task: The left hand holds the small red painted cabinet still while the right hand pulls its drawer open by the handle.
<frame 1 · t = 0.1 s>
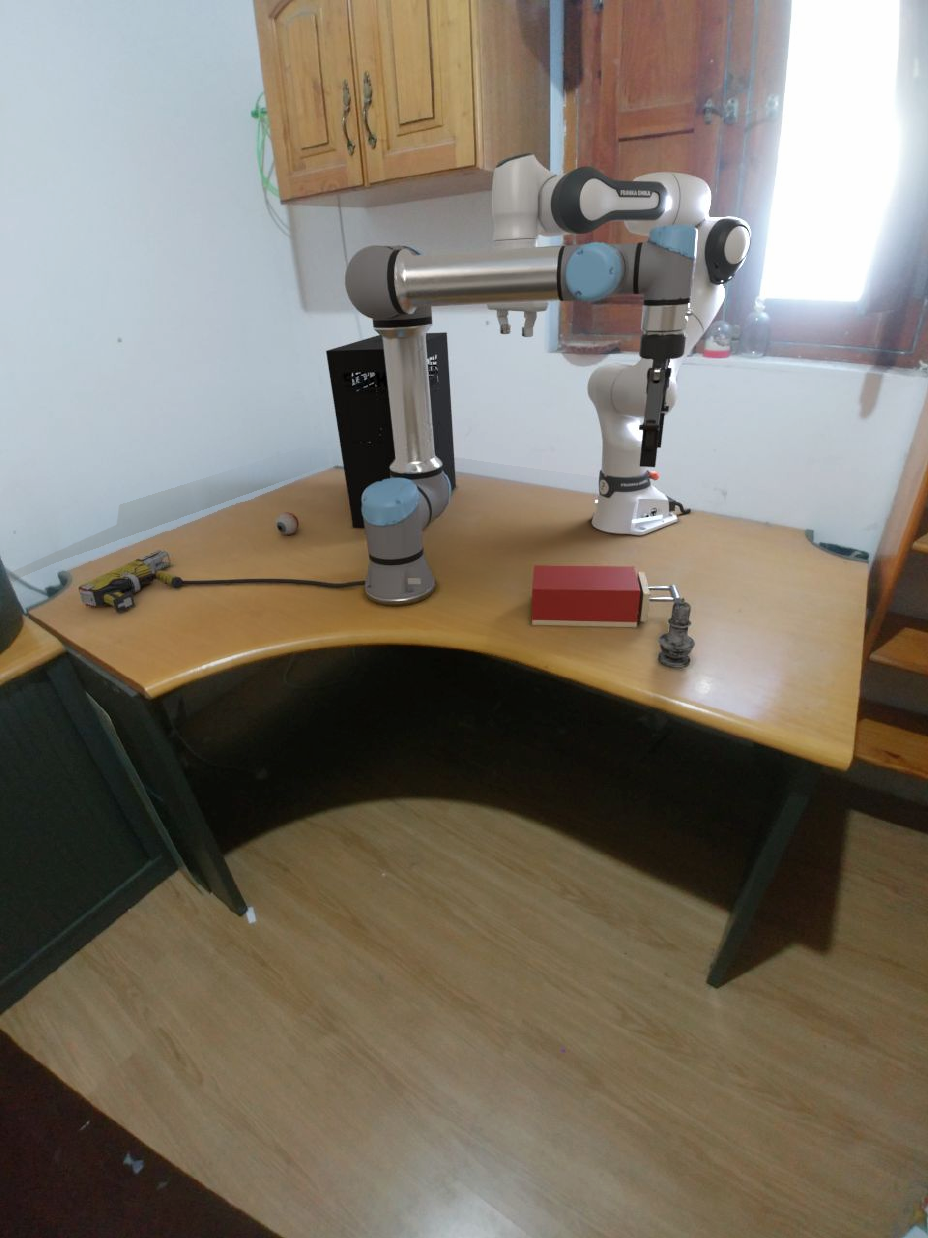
left hand: (650, 456, 114), 28 cm above the table, tool pointing down, fingers open, 13 cm apart
right hand: (516, 335, 125), 48 cm above the table, tool pointing down, fingers open, 8 cm apart
cardboard box: (408, 505, 181), on the table
cabinet: (582, 612, 120), on the table
toy gun: (148, 589, 140), on the table
drawer: (612, 595, 117), point 4 cm above the table, slide at 0.7 cm
eyeball: (289, 534, 165), on the table
chess piece: (673, 659, 104), on the table
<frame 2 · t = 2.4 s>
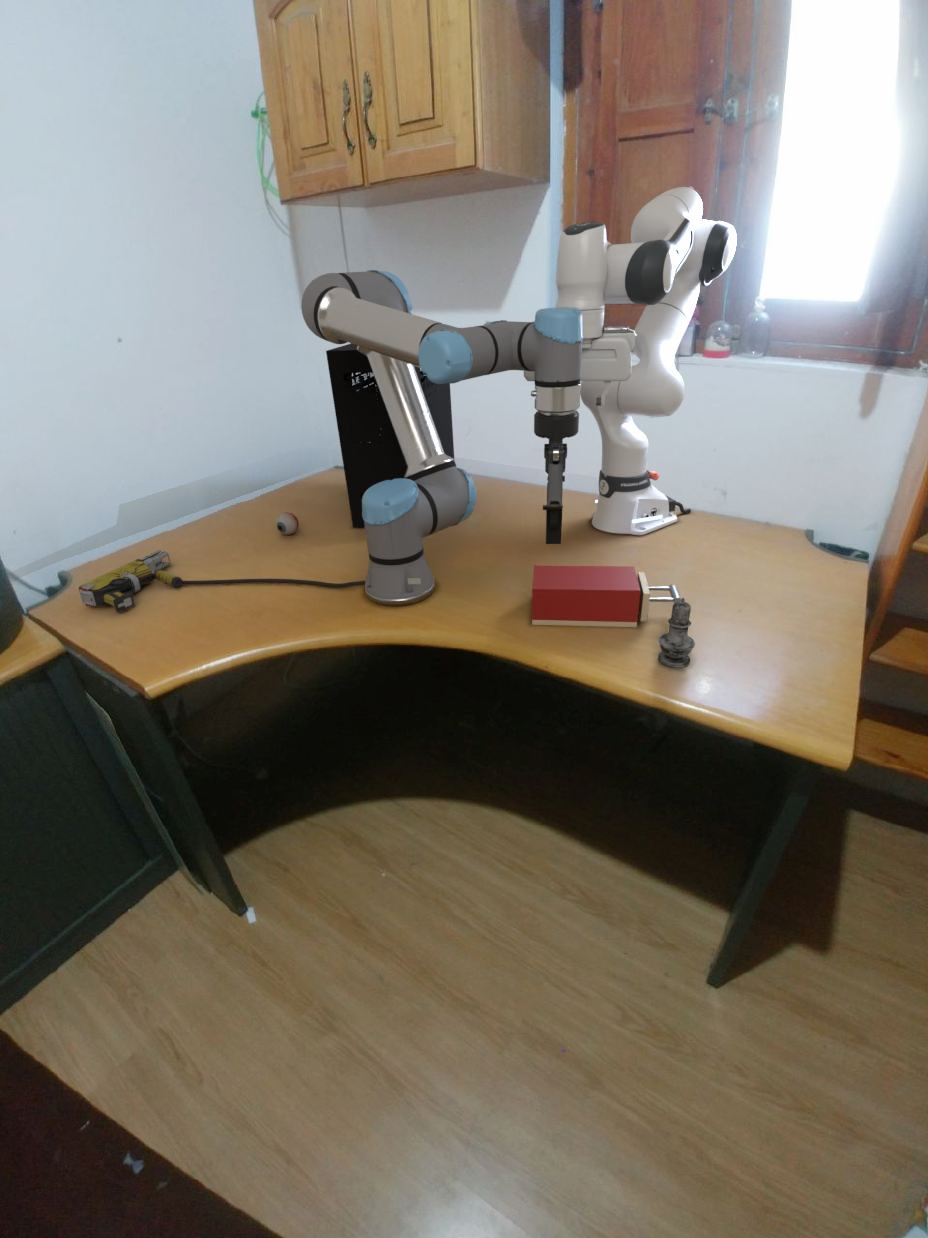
left hand: (553, 529, 112), 18 cm above the table, tool pointing down, fingers open, 13 cm apart
right hand: (575, 405, 118), 36 cm above the table, tool pointing down, fingers open, 8 cm apart
nothing on the table moved.
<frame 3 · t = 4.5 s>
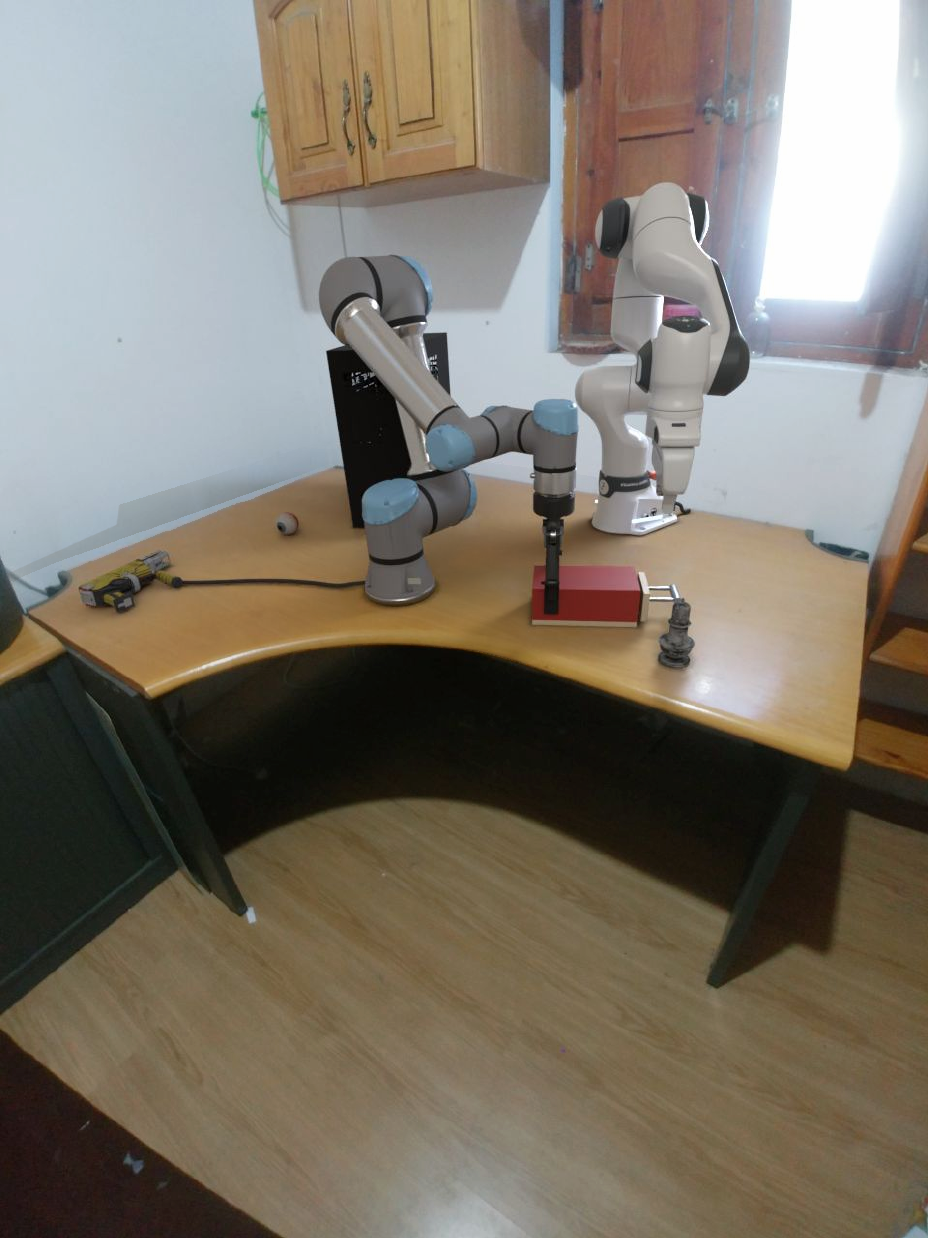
left hand: (551, 599, 119), 3 cm above the table, tool pointing down, fingers closed on cabinet, 10 cm apart
right hand: (663, 503, 108), 22 cm above the table, tool pointing down, fingers open, 8 cm apart
cabinet: (582, 612, 120), on the table, touching left hand
everything else where it was.
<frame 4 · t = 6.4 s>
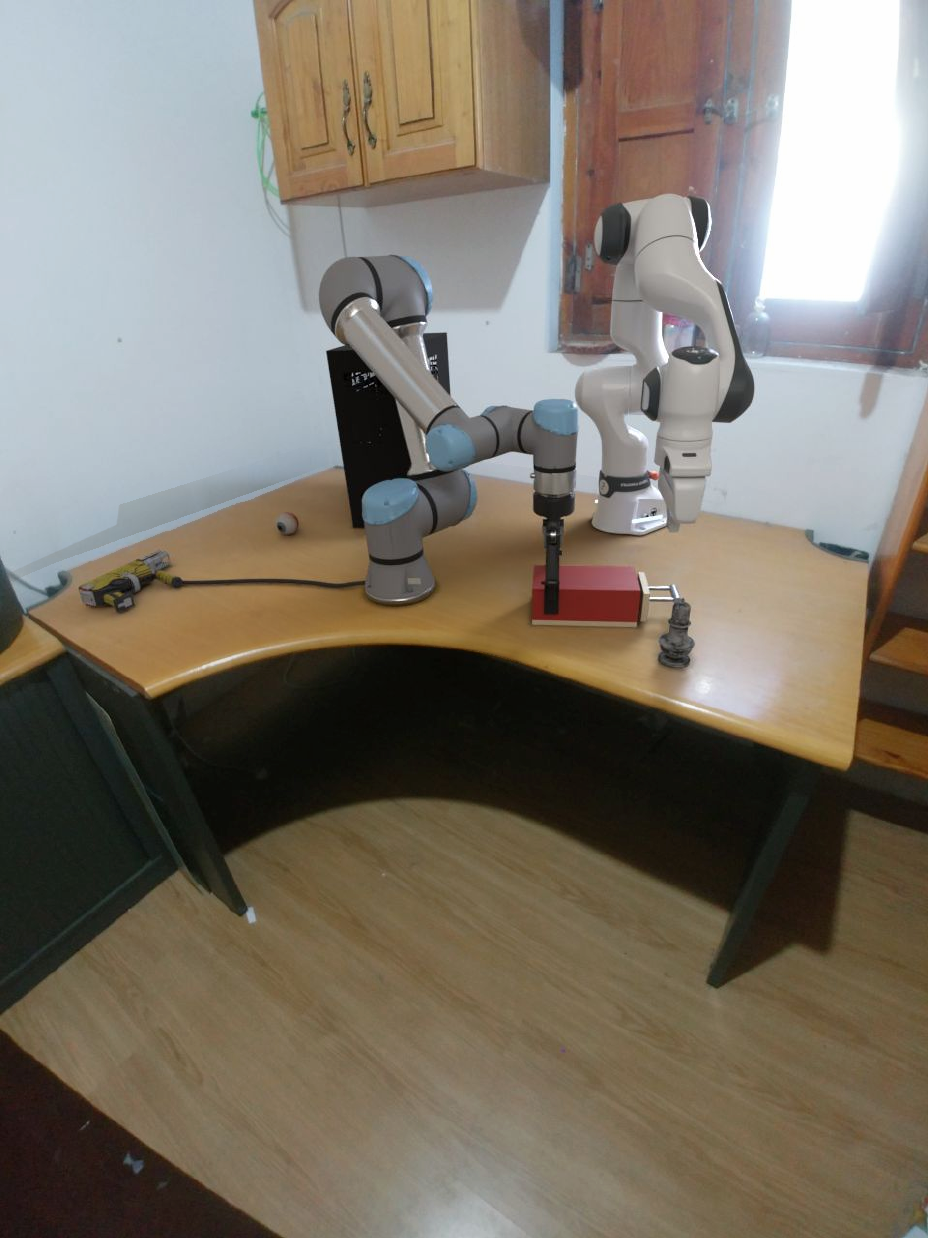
left hand: (551, 599, 119), 3 cm above the table, tool pointing down, fingers closed on cabinet, 10 cm apart
right hand: (672, 529, 109), 18 cm above the table, tool pointing down, fingers closed
cabinet: (582, 612, 120), on the table, touching left hand
everything else where it was.
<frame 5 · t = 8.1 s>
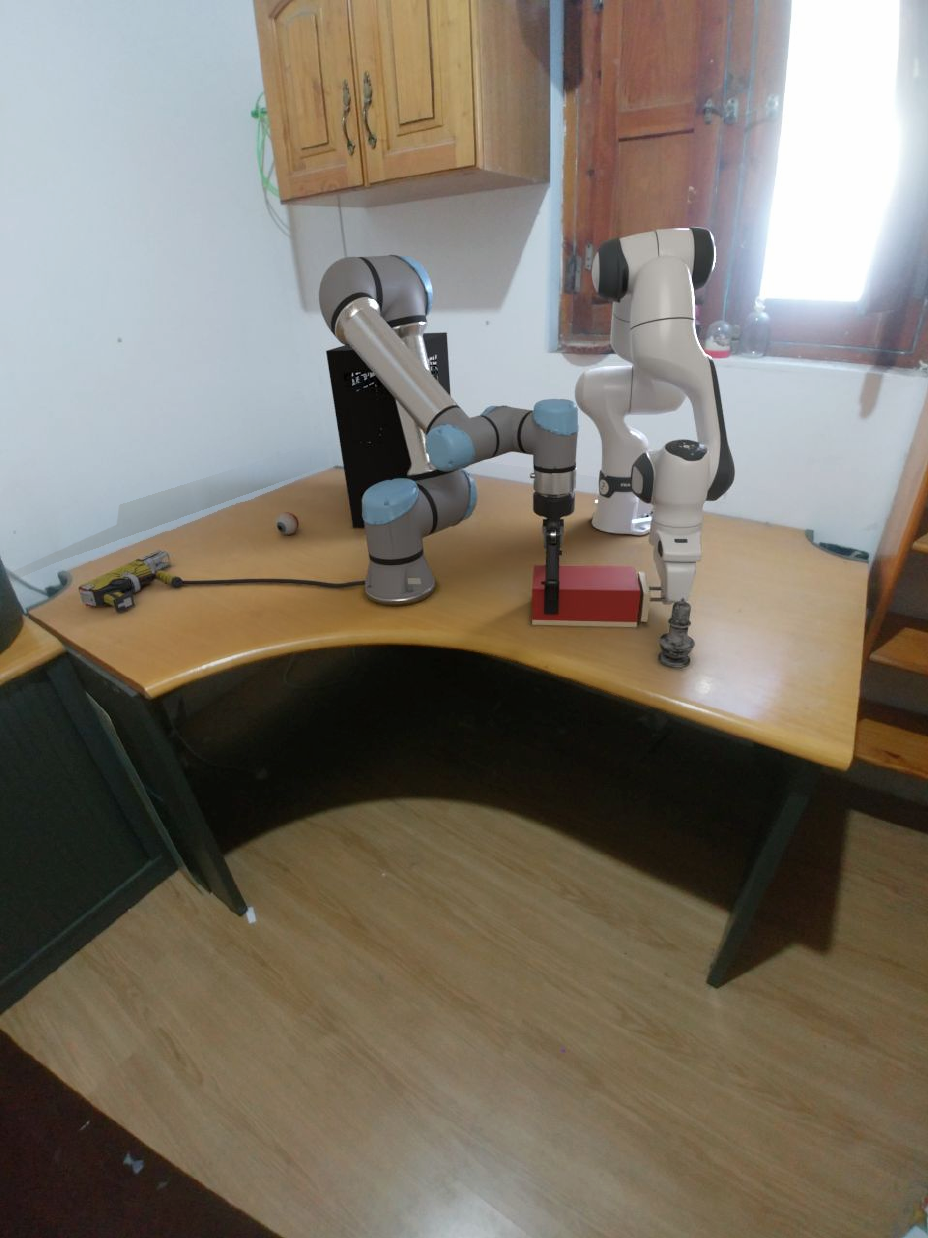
left hand: (551, 599, 119), 3 cm above the table, tool pointing down, fingers closed on cabinet, 10 cm apart
right hand: (665, 600, 116), 3 cm above the table, tool pointing down, fingers closed, pressing on drawer
cabinet: (582, 612, 120), on the table, touching left hand
drawer: (612, 595, 117), point 4 cm above the table, slide at 0.8 cm, touching right hand
everything else where it was.
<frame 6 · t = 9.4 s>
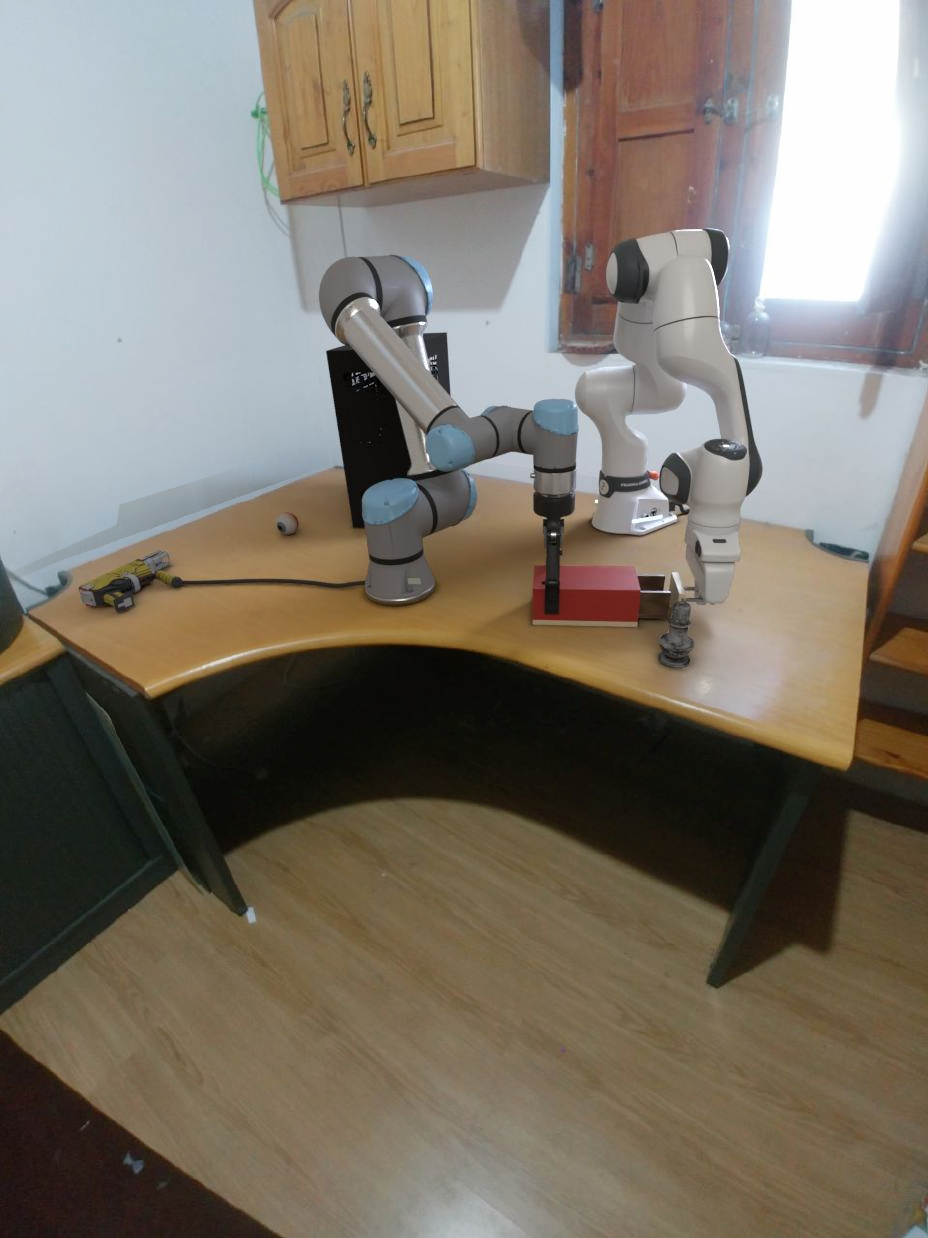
left hand: (551, 599, 119), 3 cm above the table, tool pointing down, fingers closed on cabinet, 10 cm apart
right hand: (699, 601, 115), 3 cm above the table, tool pointing down, fingers closed, pressing on drawer
cabinet: (583, 612, 120), on the table, touching left hand
drawer: (646, 596, 116), point 4 cm above the table, slide at 7.0 cm, touching right hand
everything else where it was.
when the left hand's fingers open (3 cm above the table, at t = 11.3 s): cabinet stays where it is, on the table.
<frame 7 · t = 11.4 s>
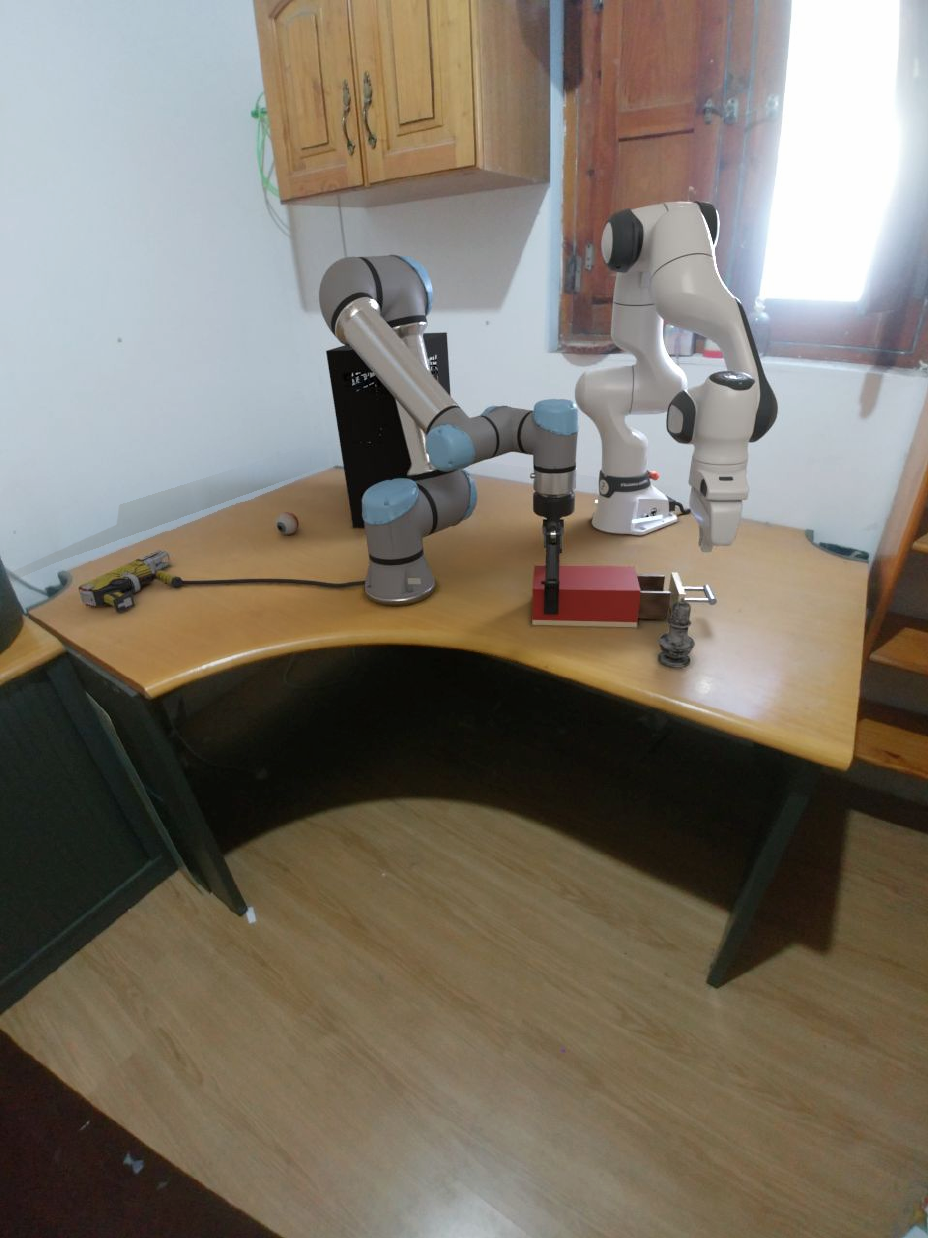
left hand: (551, 598, 119), 3 cm above the table, tool pointing down, fingers open, 11 cm apart
right hand: (704, 549, 110), 14 cm above the table, tool pointing down, fingers closed
cabinet: (582, 612, 120), on the table
drawer: (645, 596, 116), point 4 cm above the table, slide at 7.0 cm
everything else where it was.
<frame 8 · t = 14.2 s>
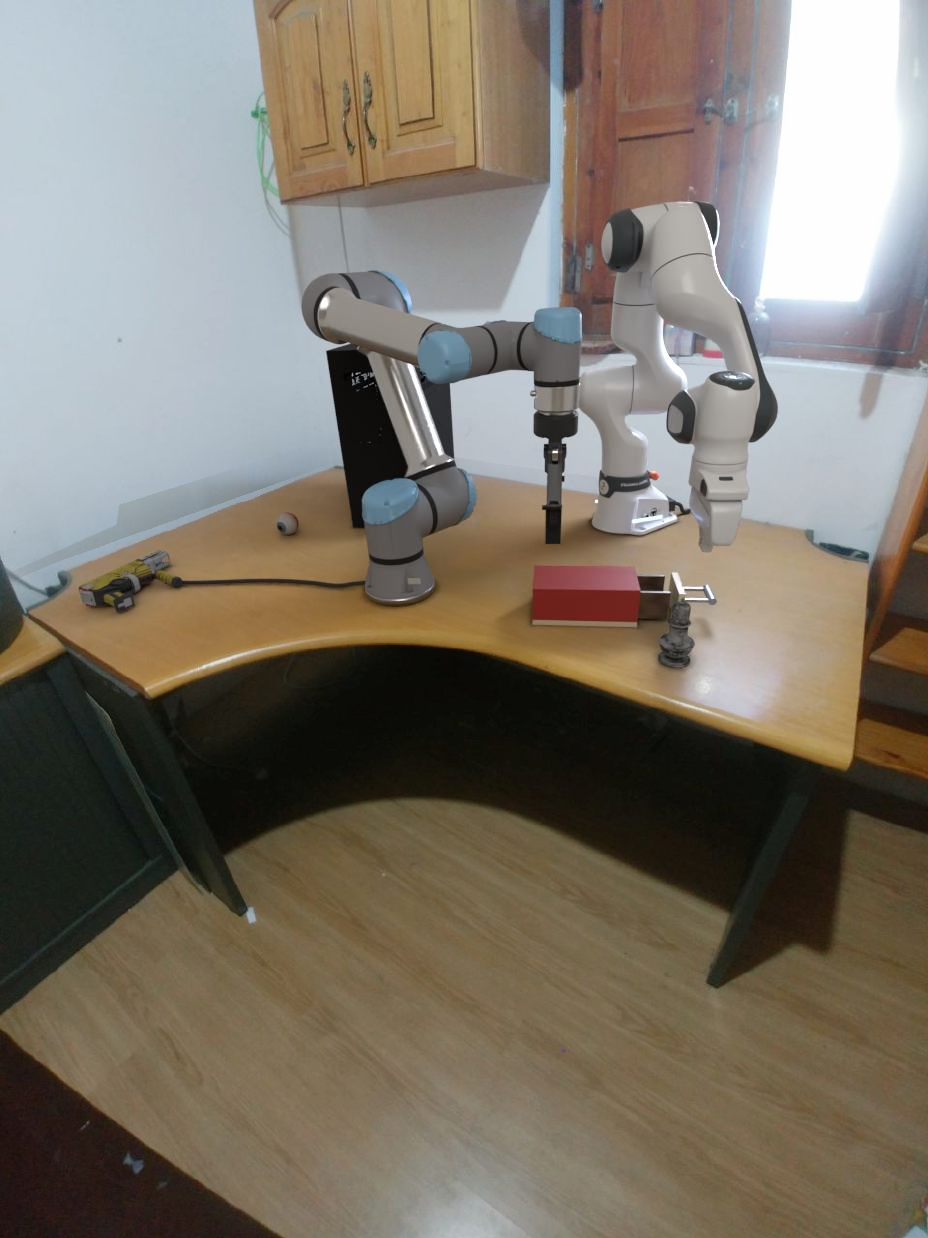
left hand: (553, 529, 112), 18 cm above the table, tool pointing down, fingers open, 13 cm apart
right hand: (704, 549, 110), 14 cm above the table, tool pointing down, fingers closed
nothing on the table moved.
at the end: drawer slide at 7.0 cm; cabinet tilted 0°; cabinet never tilted more than 1° during the clip; cabinet moved 0.1 cm from its start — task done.
